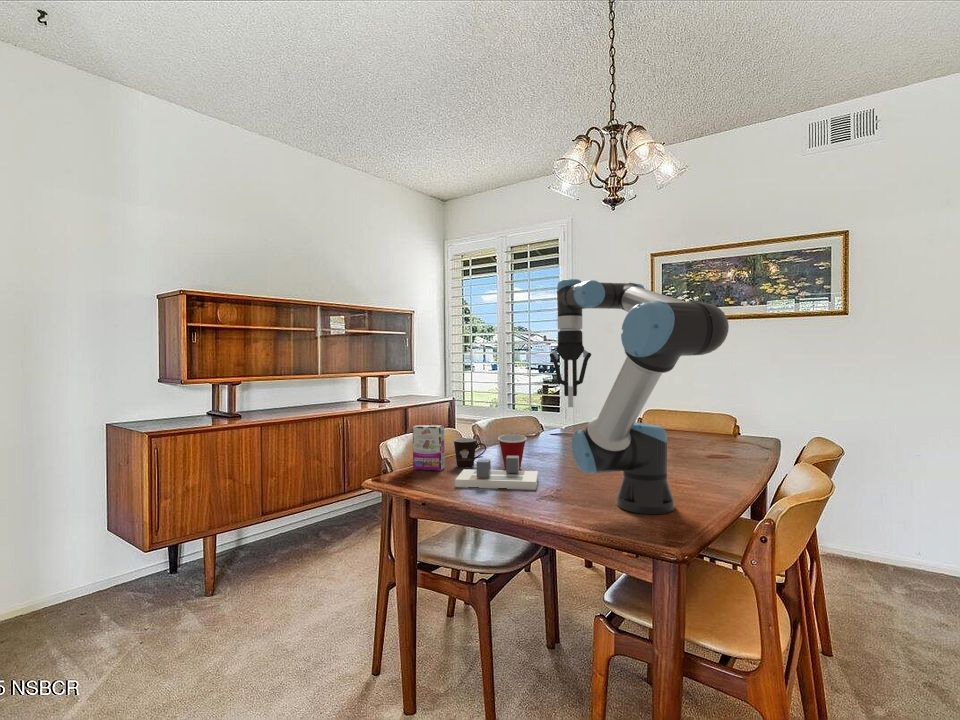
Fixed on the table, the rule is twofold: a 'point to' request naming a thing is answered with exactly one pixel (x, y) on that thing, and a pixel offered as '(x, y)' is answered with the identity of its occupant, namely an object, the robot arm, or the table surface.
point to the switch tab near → (483, 468)
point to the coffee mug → (466, 451)
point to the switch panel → (498, 479)
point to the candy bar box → (428, 447)
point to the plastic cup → (512, 446)
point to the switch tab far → (512, 464)
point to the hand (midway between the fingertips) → (570, 406)
